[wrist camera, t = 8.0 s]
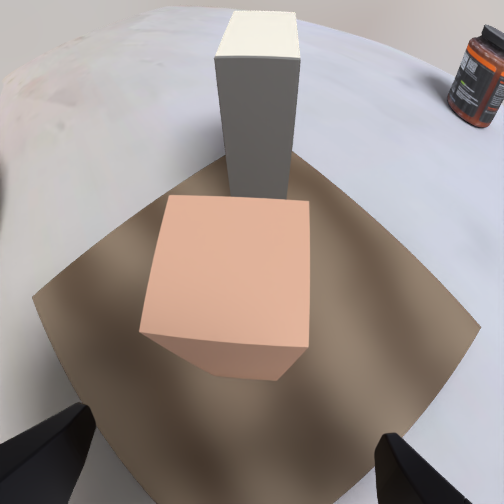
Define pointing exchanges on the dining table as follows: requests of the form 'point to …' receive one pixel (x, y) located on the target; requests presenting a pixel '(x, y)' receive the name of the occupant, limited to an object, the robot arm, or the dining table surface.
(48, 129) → the dining table surface
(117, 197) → the dining table surface
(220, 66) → the white rectangular block
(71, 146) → the dining table surface
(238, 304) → the salmon pink tall block
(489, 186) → the dining table surface
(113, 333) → the brown square mat
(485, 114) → the supplement bottle
